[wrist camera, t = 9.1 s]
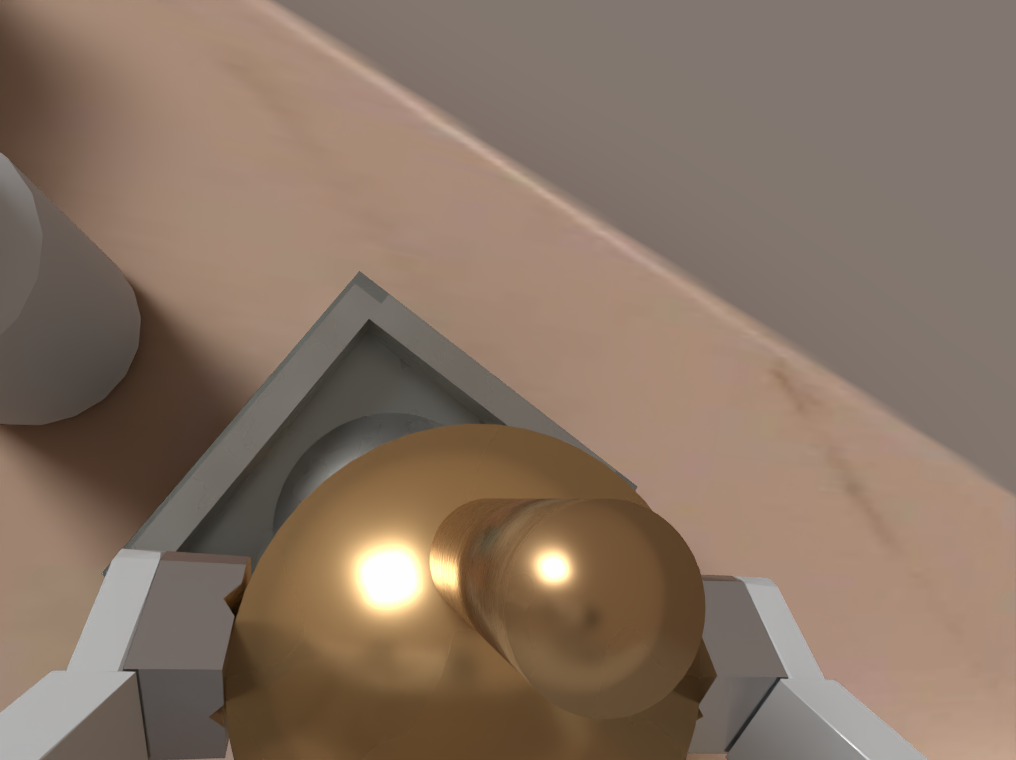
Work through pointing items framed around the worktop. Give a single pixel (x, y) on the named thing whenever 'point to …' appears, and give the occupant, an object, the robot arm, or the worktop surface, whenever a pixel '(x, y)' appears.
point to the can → (56, 310)
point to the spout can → (469, 612)
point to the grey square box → (330, 422)
